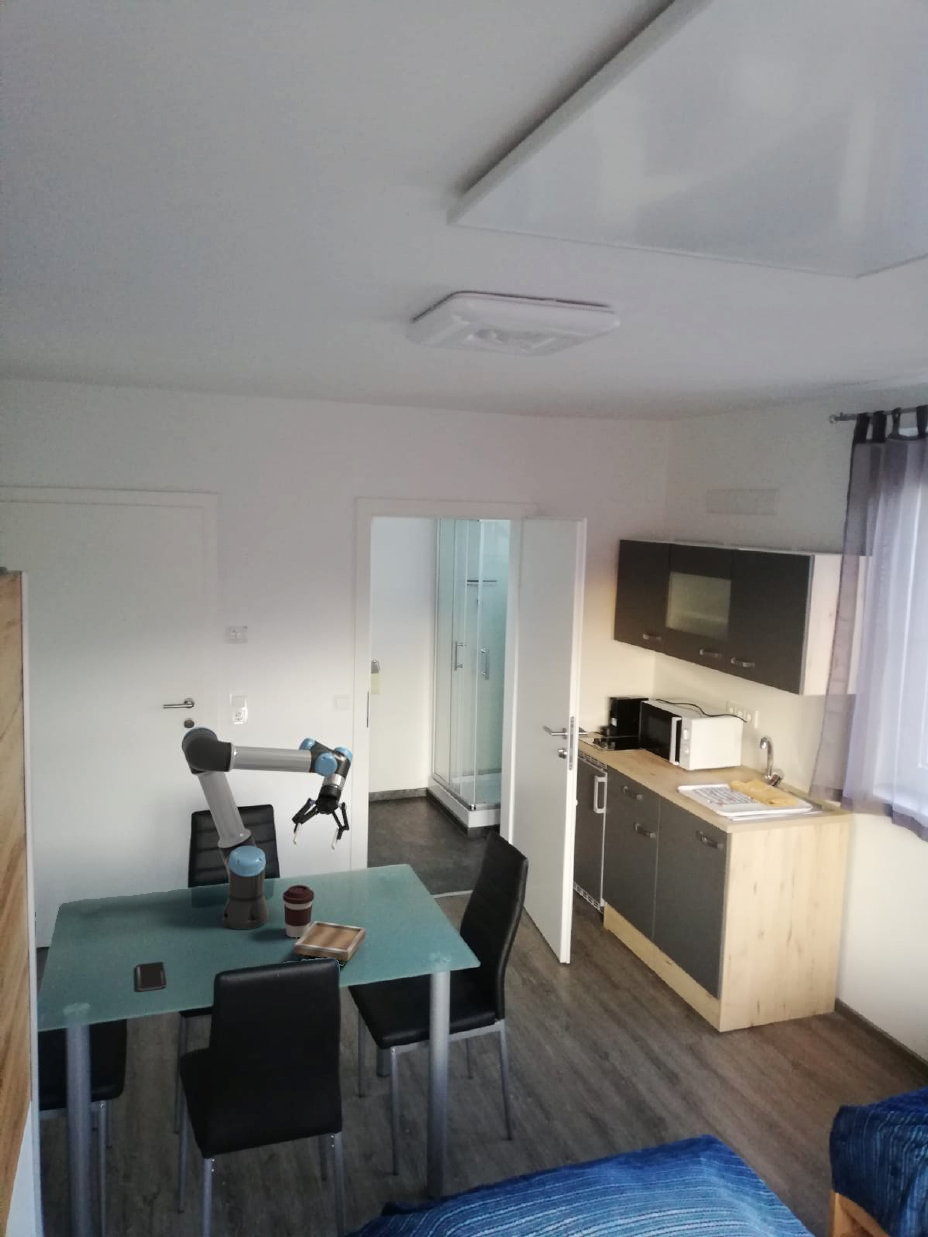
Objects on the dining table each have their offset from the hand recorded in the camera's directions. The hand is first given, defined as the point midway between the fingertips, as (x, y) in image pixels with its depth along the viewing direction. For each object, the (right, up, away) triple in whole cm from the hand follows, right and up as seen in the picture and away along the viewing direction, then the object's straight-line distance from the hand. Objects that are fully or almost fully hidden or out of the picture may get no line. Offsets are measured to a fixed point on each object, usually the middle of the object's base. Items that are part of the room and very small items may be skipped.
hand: (313, 845), depth 299 cm
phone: (-40, -28, -41) cm, 64 cm away
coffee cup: (-4, -27, -9) cm, 28 cm away
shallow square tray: (+9, -28, -21) cm, 37 cm away
